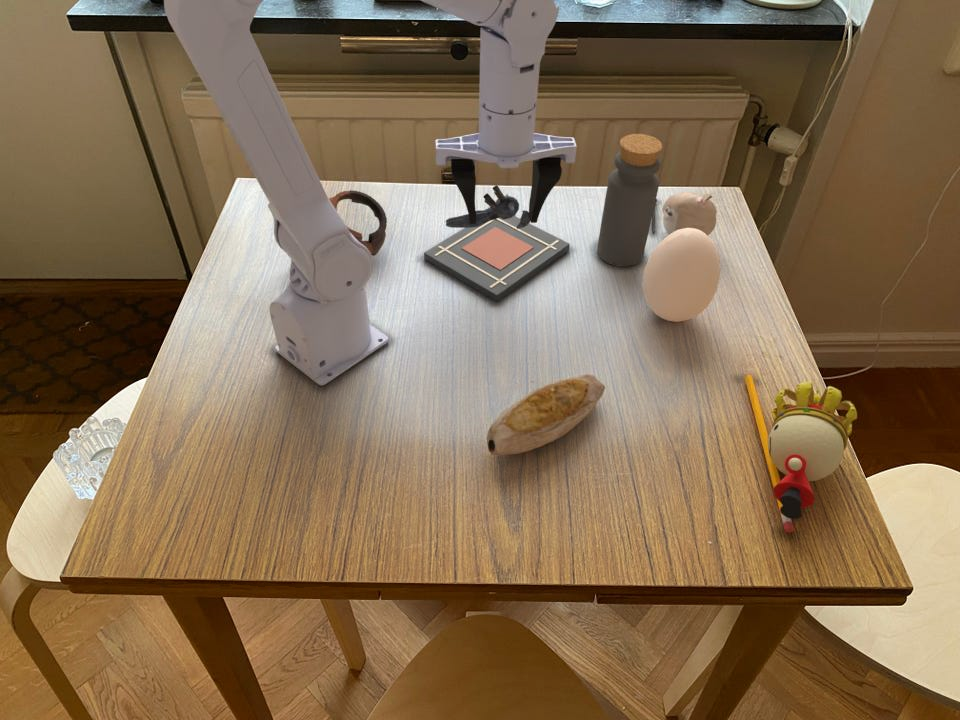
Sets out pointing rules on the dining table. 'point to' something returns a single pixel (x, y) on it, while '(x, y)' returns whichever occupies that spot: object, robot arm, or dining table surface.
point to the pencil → (766, 445)
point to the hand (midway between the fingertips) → (502, 218)
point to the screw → (653, 219)
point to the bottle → (630, 200)
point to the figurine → (492, 212)
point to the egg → (681, 275)
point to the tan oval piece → (544, 415)
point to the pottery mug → (379, 235)
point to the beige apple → (689, 212)
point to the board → (496, 255)
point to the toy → (807, 442)
